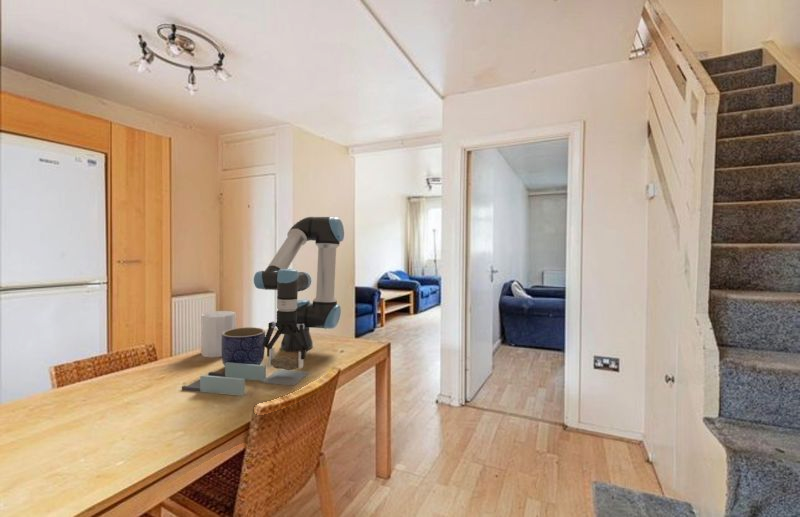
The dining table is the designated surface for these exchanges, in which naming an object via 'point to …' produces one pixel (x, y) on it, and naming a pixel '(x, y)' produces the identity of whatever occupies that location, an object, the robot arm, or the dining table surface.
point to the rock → (285, 363)
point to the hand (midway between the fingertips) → (286, 366)
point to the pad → (285, 377)
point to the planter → (243, 345)
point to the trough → (228, 379)
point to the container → (215, 331)
